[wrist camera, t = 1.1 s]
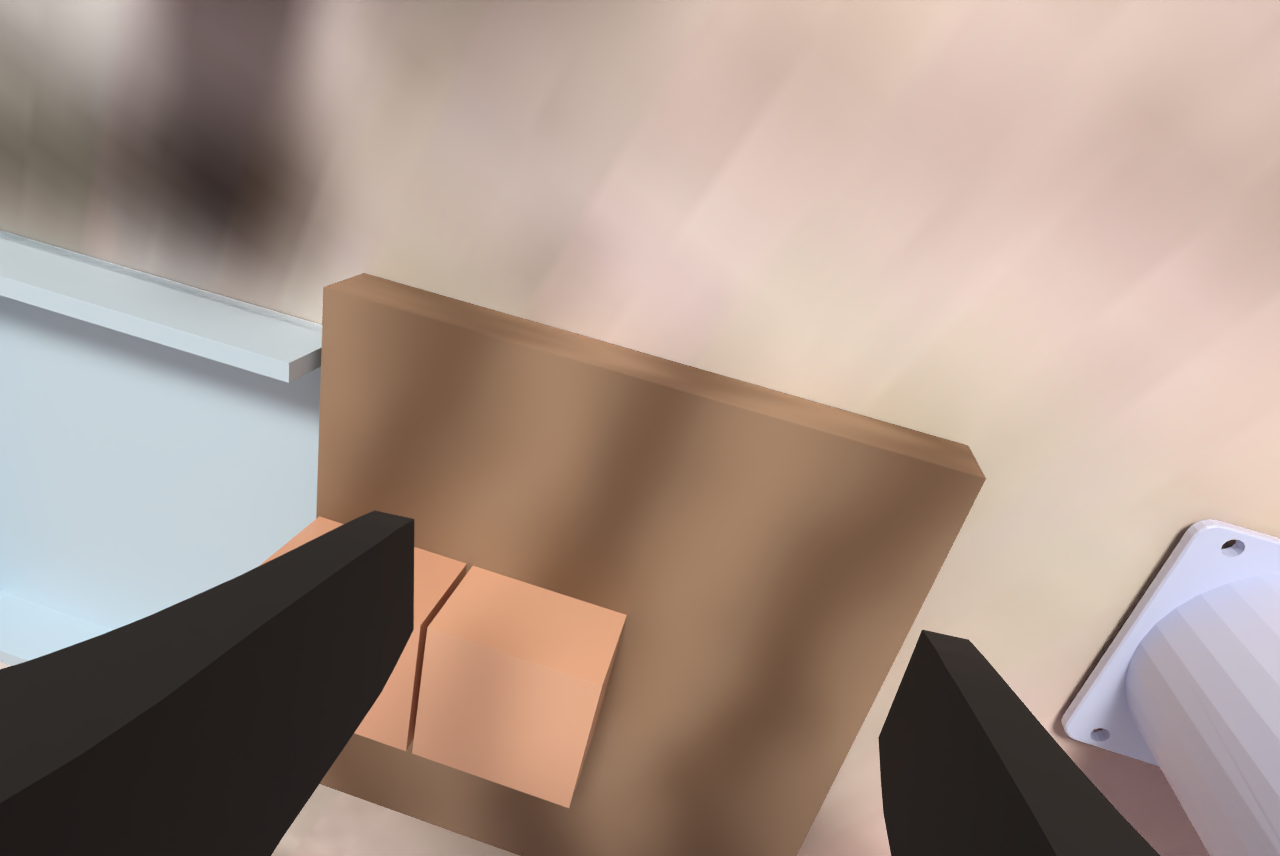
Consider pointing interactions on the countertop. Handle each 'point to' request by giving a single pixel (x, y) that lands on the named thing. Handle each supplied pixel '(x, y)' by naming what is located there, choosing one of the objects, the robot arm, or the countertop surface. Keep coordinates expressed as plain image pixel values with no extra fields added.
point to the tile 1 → (400, 695)
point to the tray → (140, 442)
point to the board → (640, 561)
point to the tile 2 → (515, 683)
